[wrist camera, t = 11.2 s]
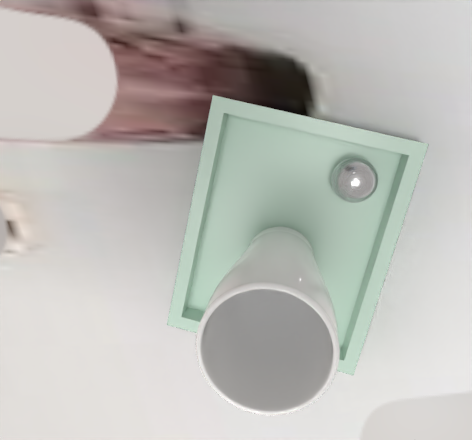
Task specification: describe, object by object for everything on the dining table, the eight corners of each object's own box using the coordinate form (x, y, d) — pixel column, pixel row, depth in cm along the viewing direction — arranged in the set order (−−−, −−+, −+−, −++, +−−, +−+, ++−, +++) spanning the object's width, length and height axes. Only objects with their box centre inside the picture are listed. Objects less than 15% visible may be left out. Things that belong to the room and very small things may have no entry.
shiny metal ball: (336, 151, 32) (340, 154, 29) (379, 161, 32) (388, 165, 29) (324, 193, 33) (327, 200, 30) (366, 203, 33) (374, 211, 30)
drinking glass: (322, 213, 33) (339, 279, 19) (325, 297, 35) (344, 420, 20) (234, 217, 34) (186, 283, 20) (240, 299, 36) (199, 417, 21)
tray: (218, 97, 33) (213, 95, 31) (418, 142, 32) (428, 144, 30) (175, 311, 38) (166, 324, 35) (349, 358, 36) (353, 375, 34)
